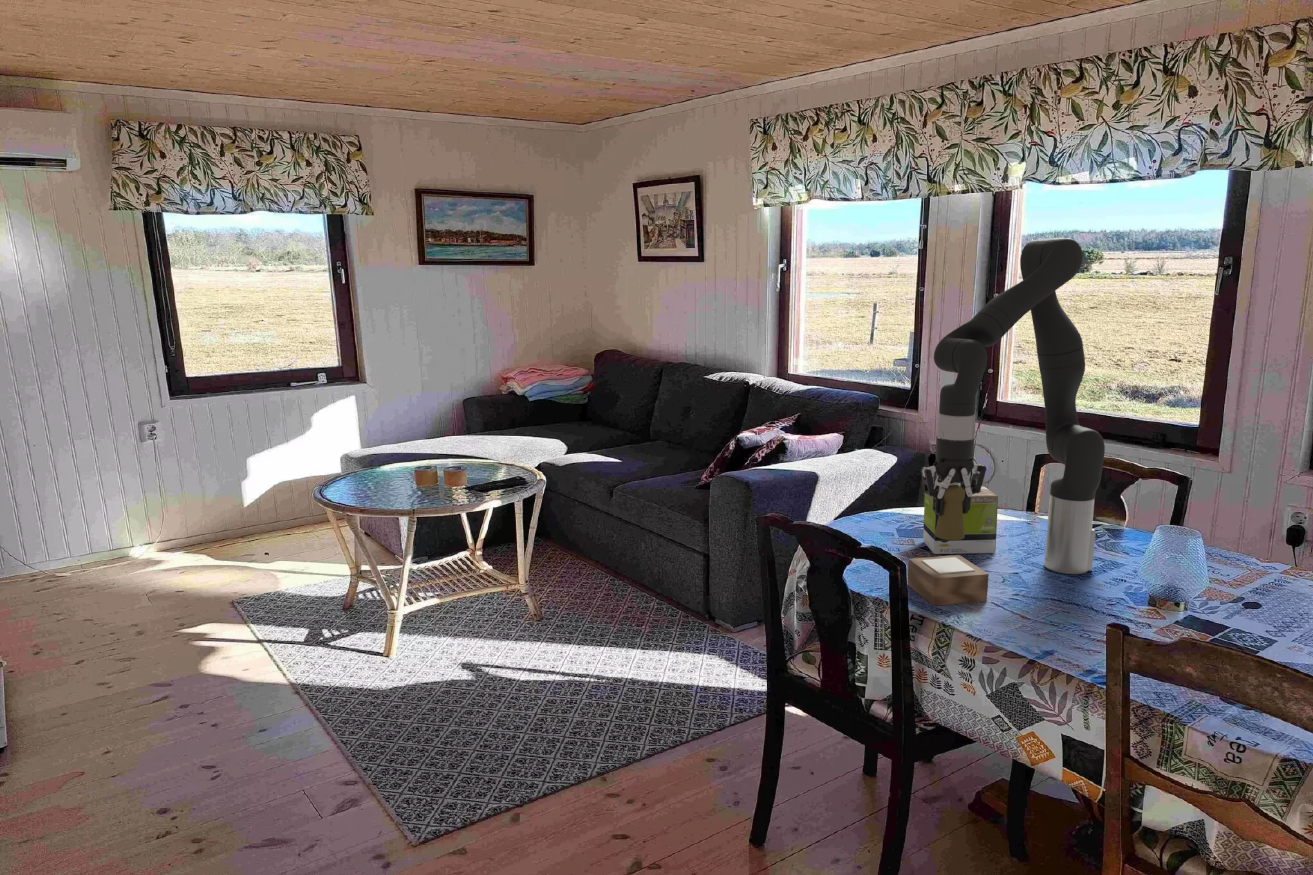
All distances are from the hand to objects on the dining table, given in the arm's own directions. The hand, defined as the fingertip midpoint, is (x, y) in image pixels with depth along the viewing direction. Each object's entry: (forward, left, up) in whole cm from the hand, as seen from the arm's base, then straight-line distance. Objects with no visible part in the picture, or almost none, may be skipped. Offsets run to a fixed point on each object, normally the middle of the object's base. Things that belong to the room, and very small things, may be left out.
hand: (950, 513), depth 185 cm
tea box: (-17, -26, -18) cm, 36 cm away
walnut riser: (0, 0, -18) cm, 18 cm away
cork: (0, 0, -5) cm, 5 cm away
